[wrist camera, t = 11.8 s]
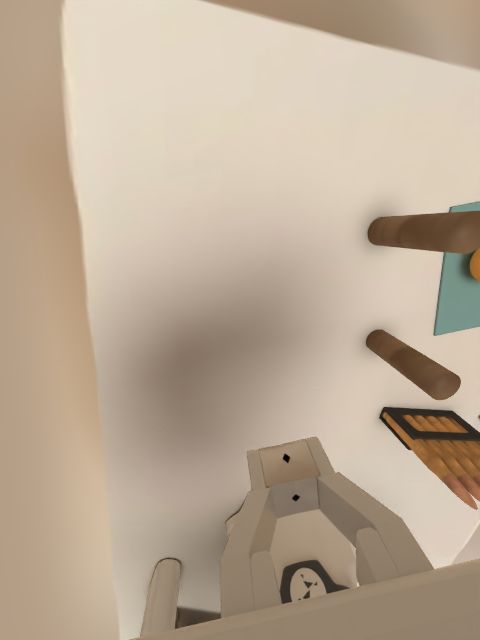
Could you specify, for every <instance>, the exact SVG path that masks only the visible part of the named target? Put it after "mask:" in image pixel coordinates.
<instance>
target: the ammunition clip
mask: <svg viewBox="0 0 480 640" xmlns="http://www.w3.org/2000/svg"><path fill="white" fill-rule="evenodd" d="M380 419H381V420H382V422H383V423H384V424H385V425H386V426H387V427H388V428H389V429H390V430H391V431H392V433H393V434H394V435H395V436H396V437H397V438H398V439H399V440H400V441H401V442H402V444H403V445H404V446H405V447H406V448H407V449H408V450H412V451H413V452H414V453H415V454H416V455H417V456H418V457H419V458H420V460H421V461H422V462H423V463H424V464H425V465H426V466H427V467H428V468H429V469H430V470H431V471H432V472H433V473H434V474H436V475H437V476H438V477H439V478H440V479H441V480H442V481H443V482H444V483H445V484H446V485H447V486H448V488H449V489H450V490H451V491H452V492H453V493H454V494H456V495H457V496H458V497H459V498H460V499H461V500H462V501H464V502H465V503H466V504H467V505H469V506H470V507H472V508H474V509H476V510H477V509H478V508H477V505H476V503H475V501H474V500H473V498H472V497H471V495H472V496H473V497H475V498H476V499H477V500H478V501H480V432H478V431H477V430H476V429H475V428H473V427H472V426H471V425H470V424H468V423H467V422H466V421H465V420H463V419H462V418H461V417H460V416H458V415H457V414H456V413H455V412H453V411H447V410H429V409H410V408H391V407H385V408H384V409H383V411H382V413H381V416H380ZM469 493H470V494H471V495H470V494H469Z"/></svg>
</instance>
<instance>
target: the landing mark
mask: <svg viewBox="0 0 480 640" xmlns="http://www.w3.org/2000/svg"><path fill="white" fill-rule="evenodd" d="M465 211H480V202H476V203H471V204H466V205H461V206H455V207H450V212H465ZM476 250H477V249H476ZM476 250H475V251H476ZM475 251H473V252H471V253H468V254H458V253H448V252H444V259H443V267H442V275H441V282H440V290H439V298H438V306H437V313H436V321H435V329H434V336H437V335H442V334H446V333H451V332H456V331H461V330H465V329H470V328H475V327H480V282H479V281H477V280H476V279H475V278H474V277H473V275H472V274H471V271H470V260H471V258H472V256H473V254H474V253H475Z"/></svg>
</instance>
